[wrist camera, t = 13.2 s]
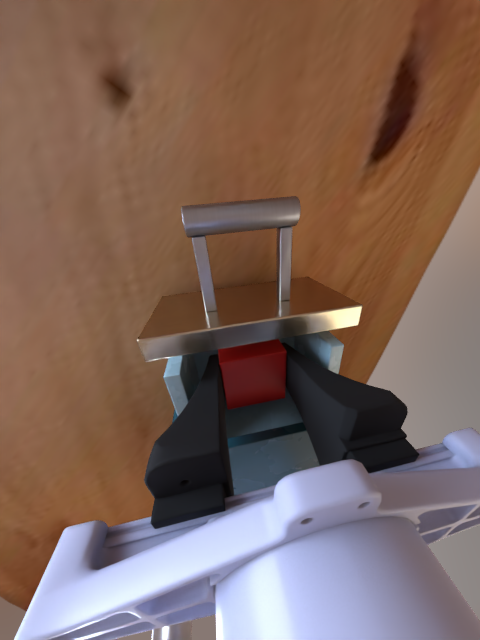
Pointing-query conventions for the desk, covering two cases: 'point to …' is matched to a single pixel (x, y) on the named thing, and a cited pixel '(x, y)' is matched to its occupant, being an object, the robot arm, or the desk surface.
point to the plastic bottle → (173, 632)
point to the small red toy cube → (253, 373)
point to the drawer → (245, 312)
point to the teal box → (268, 456)
